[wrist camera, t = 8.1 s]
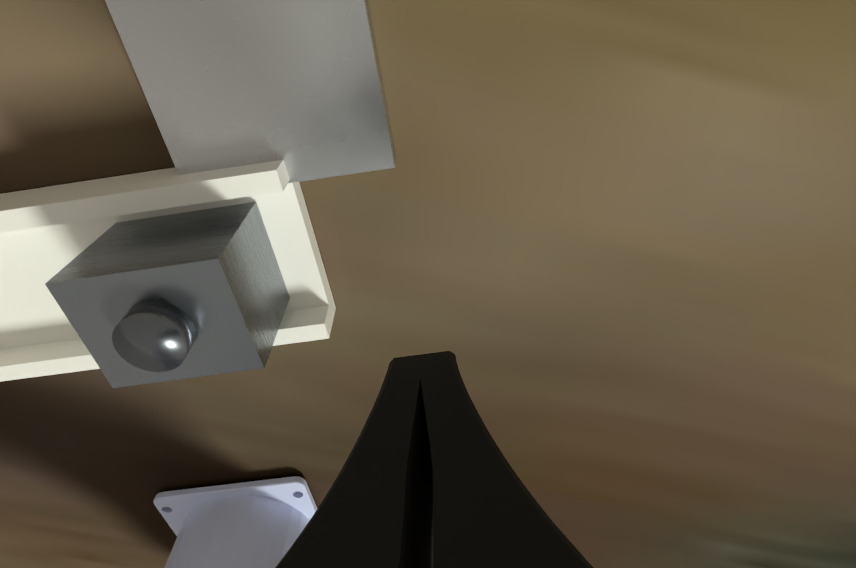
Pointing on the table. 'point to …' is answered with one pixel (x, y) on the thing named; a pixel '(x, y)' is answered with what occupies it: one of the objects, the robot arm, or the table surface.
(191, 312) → the block
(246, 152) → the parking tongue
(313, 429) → the table surface
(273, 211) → the rail
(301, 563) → the robot arm
